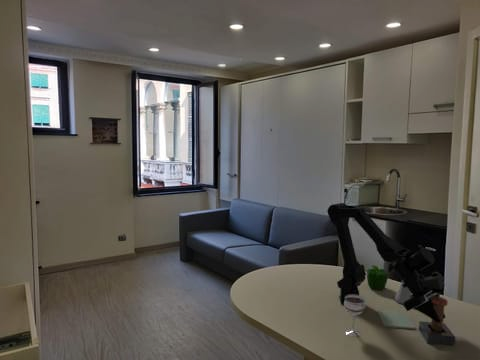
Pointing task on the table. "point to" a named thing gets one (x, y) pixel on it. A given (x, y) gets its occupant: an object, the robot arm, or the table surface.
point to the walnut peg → (438, 312)
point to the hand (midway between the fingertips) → (441, 320)
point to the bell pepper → (377, 278)
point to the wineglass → (354, 310)
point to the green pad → (396, 320)
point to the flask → (402, 294)
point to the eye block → (436, 334)
